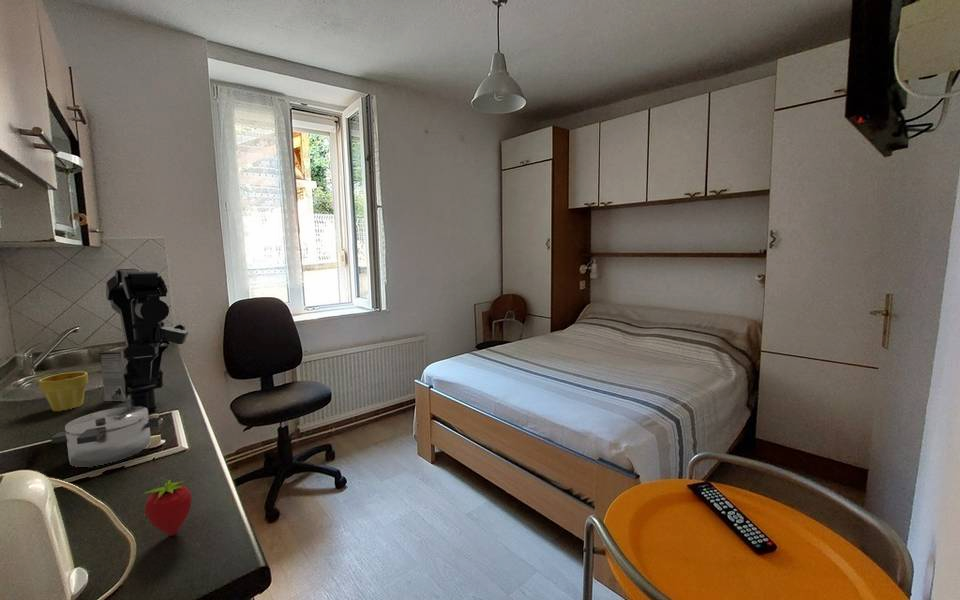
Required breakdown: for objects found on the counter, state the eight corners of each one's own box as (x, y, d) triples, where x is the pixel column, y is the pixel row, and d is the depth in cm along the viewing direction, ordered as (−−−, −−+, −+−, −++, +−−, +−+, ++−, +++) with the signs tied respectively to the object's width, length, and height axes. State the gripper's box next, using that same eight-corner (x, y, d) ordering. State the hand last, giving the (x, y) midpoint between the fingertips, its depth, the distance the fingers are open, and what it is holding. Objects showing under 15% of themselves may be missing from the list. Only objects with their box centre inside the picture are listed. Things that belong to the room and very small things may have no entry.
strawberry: (150, 557, 60) (143, 493, 59) (146, 532, 66) (140, 473, 65) (198, 538, 64) (192, 478, 63) (191, 516, 70) (185, 460, 69)
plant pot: (60, 415, 118) (56, 382, 117) (33, 412, 120) (28, 380, 119) (100, 402, 128) (96, 372, 127) (74, 400, 130) (70, 370, 129)
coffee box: (125, 393, 136) (120, 346, 135) (146, 392, 137) (141, 345, 135) (104, 402, 127) (98, 352, 126) (126, 401, 128) (120, 351, 126)
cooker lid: (81, 417, 96) (80, 408, 96) (155, 406, 102) (154, 398, 102) (39, 450, 79) (38, 439, 79) (131, 435, 85) (130, 425, 85)
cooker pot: (72, 448, 96) (68, 420, 95) (169, 432, 104) (166, 406, 103) (41, 476, 83) (37, 444, 83) (154, 455, 92) (151, 425, 91)
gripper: (176, 321, 102) (181, 381, 104) (190, 312, 119) (195, 364, 121) (119, 324, 98) (126, 388, 99) (142, 315, 114) (147, 369, 116)
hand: (152, 376), depth 109 cm, fingers open, 9 cm apart
